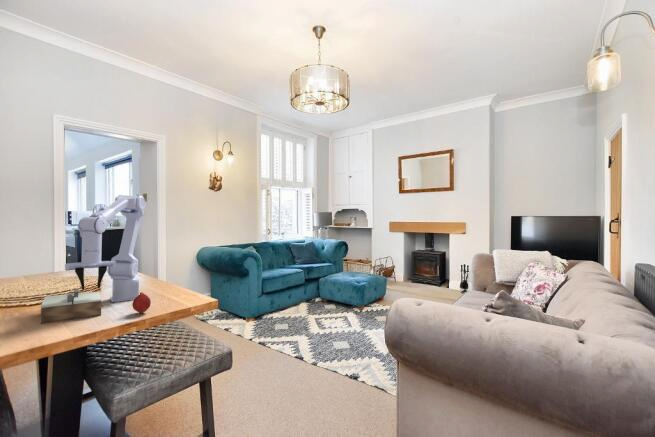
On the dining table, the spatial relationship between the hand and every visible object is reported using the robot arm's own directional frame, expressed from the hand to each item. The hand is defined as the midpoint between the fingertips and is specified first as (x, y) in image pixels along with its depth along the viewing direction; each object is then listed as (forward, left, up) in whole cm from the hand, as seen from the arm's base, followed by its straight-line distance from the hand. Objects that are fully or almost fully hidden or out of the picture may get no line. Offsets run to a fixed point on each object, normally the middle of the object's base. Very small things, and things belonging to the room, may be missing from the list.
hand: (90, 288), depth 114 cm
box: (+5, -3, -9) cm, 11 cm away
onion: (-15, +8, -10) cm, 20 cm away
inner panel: (+1, -3, -4) cm, 5 cm away
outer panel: (+9, -3, -4) cm, 10 cm away
